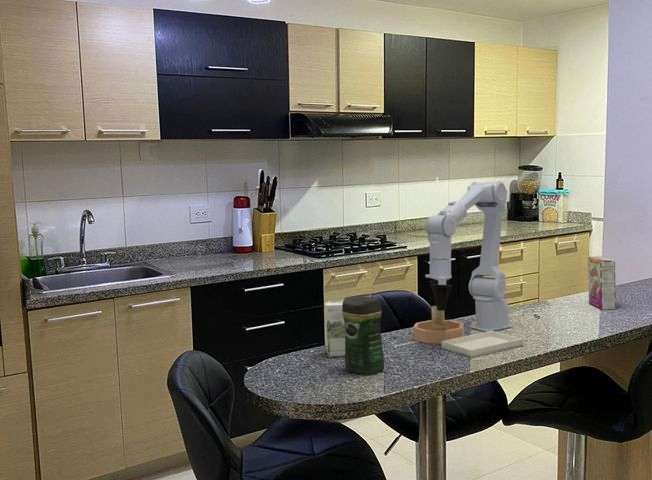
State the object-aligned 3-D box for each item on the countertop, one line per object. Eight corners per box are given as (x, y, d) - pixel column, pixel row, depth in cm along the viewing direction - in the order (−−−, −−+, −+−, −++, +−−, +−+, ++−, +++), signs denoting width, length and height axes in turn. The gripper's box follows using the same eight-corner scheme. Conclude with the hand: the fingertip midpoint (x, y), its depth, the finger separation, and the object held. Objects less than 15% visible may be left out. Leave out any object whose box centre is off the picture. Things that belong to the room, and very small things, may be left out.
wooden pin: (440, 335, 190) (438, 305, 189) (447, 337, 187) (446, 306, 186) (430, 337, 188) (428, 306, 187) (437, 339, 185) (436, 308, 184)
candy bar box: (587, 304, 221) (586, 256, 220) (602, 303, 221) (601, 255, 220) (601, 310, 210) (600, 260, 209) (616, 309, 210) (616, 259, 208)
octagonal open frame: (442, 329, 197) (442, 317, 196) (473, 337, 184) (473, 325, 184) (405, 336, 190) (404, 325, 190) (434, 346, 178) (434, 333, 178)
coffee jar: (390, 370, 158) (386, 296, 156) (366, 378, 153) (362, 301, 151) (363, 363, 165) (360, 291, 164) (340, 370, 160) (335, 296, 159)
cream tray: (491, 337, 184) (491, 330, 184) (523, 346, 173) (522, 338, 173) (441, 348, 175) (441, 341, 175) (471, 358, 165) (471, 350, 165)
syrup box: (347, 351, 178) (345, 299, 177) (349, 356, 172) (346, 303, 171) (327, 352, 178) (324, 300, 176) (327, 358, 172) (324, 304, 171)
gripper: (424, 256, 184) (424, 304, 185) (427, 260, 170) (426, 312, 171) (449, 256, 184) (449, 304, 184) (454, 261, 169) (454, 312, 170)
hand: (440, 308), depth 177 cm, fingers open, 7 cm apart
